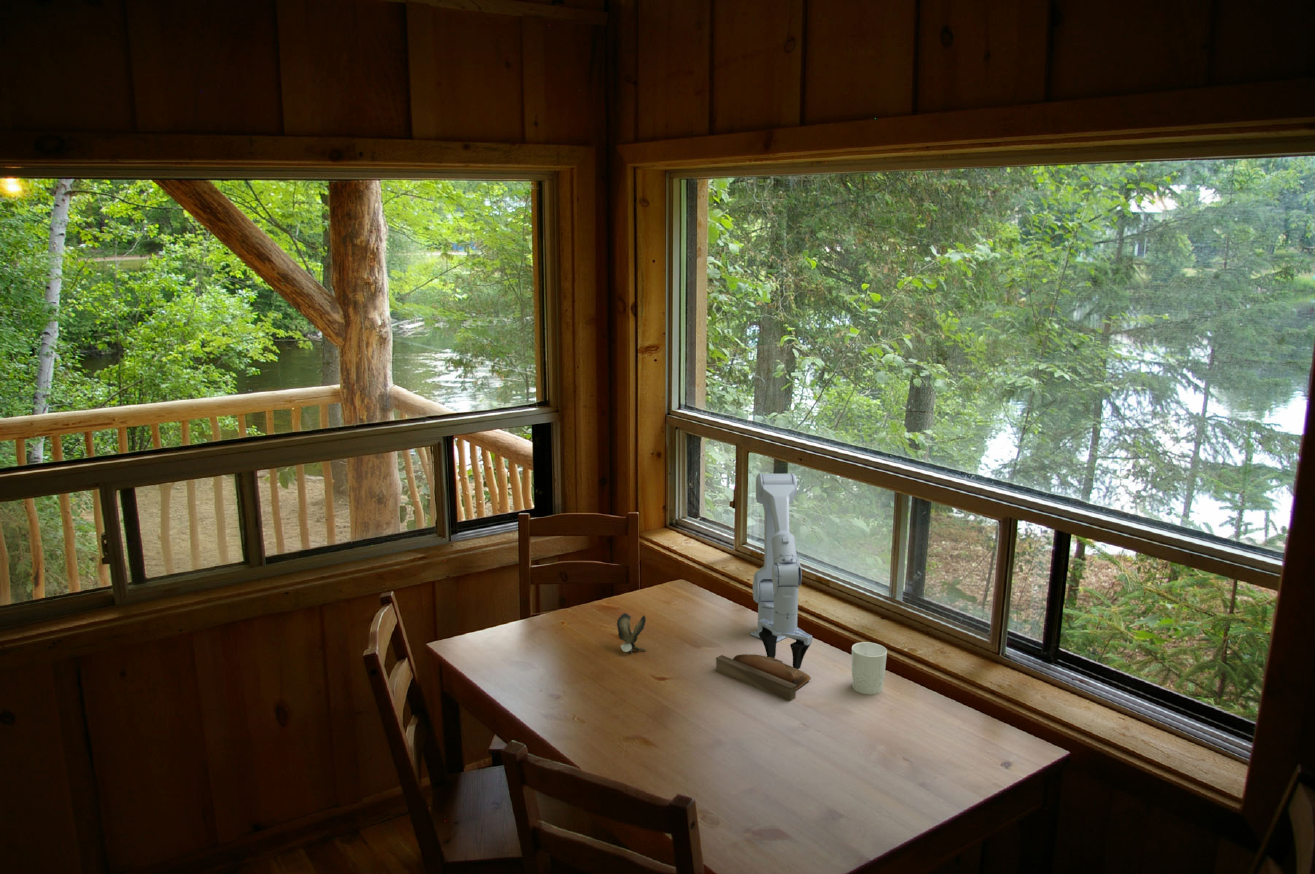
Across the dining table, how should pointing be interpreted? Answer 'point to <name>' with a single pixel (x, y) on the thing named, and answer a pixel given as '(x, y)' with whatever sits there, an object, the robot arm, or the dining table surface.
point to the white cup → (868, 667)
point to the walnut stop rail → (756, 677)
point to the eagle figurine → (629, 632)
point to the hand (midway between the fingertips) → (783, 663)
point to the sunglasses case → (774, 668)
